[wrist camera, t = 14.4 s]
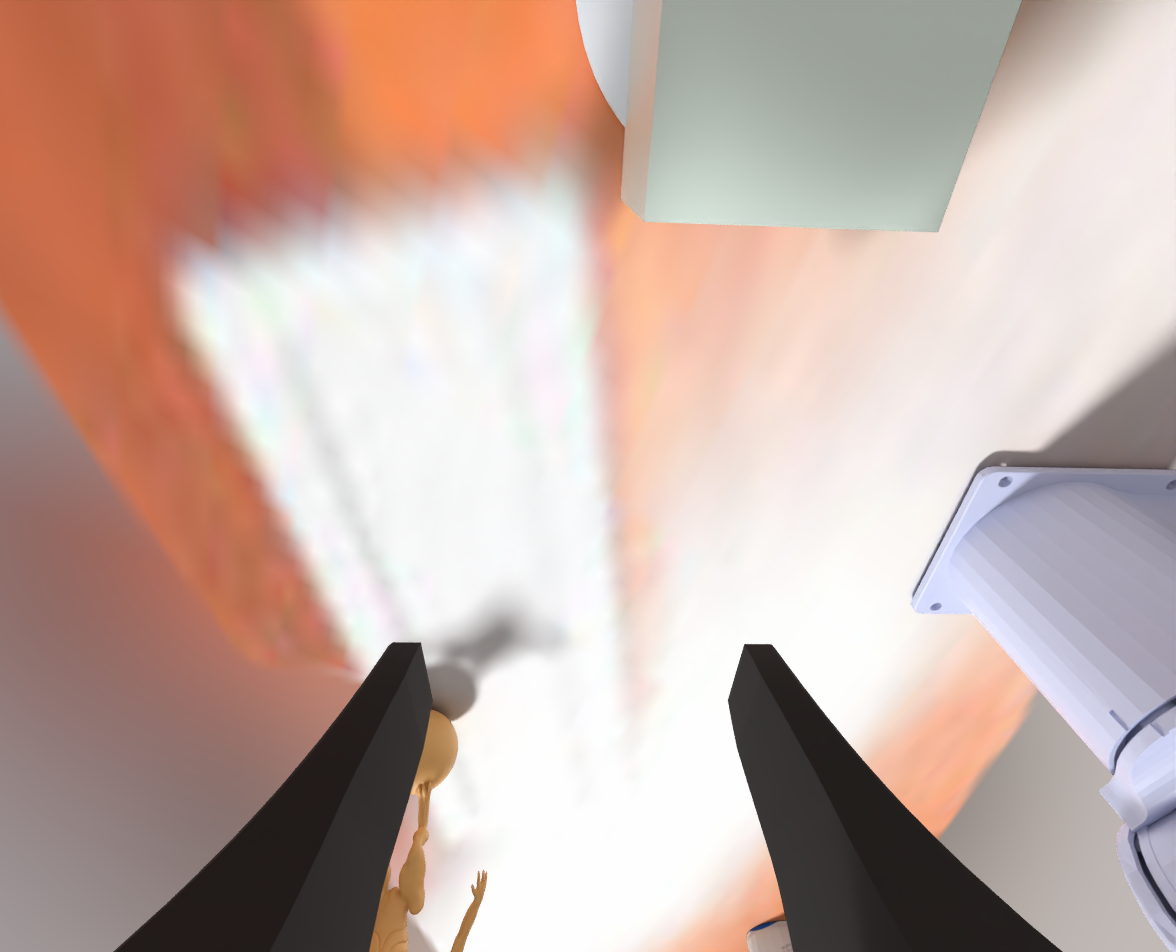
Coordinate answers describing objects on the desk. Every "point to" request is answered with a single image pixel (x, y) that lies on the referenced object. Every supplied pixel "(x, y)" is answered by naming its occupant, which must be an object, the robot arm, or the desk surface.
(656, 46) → the pale mint box
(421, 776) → the figurine
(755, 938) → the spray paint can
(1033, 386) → the desk surface
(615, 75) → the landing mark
